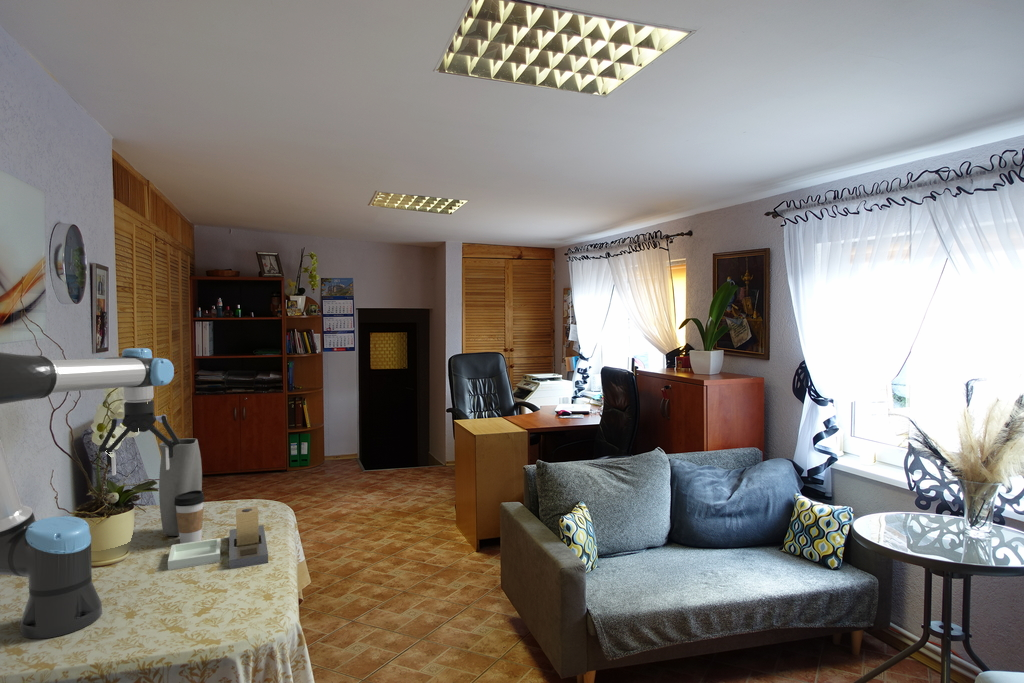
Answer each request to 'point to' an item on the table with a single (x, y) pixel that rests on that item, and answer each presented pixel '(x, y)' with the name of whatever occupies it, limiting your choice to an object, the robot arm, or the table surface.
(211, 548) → the parts tray
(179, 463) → the vase
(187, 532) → the coffee cup
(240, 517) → the block
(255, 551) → the rail
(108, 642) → the table surface
